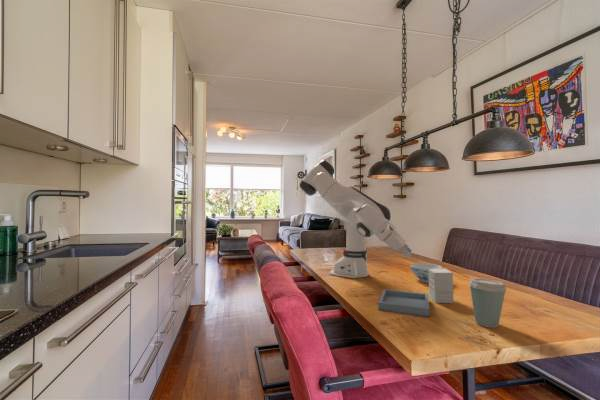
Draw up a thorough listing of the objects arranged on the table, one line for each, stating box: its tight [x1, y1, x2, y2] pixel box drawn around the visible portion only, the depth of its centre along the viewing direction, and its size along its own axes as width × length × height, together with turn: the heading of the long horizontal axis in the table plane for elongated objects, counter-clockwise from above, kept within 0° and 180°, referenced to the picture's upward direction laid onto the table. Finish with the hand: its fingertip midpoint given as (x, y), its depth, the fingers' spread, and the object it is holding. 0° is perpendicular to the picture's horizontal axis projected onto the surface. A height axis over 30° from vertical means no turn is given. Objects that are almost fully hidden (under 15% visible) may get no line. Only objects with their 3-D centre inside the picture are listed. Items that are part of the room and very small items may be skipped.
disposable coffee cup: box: [468, 277, 507, 329], centre depth 95 cm, size 11×11×15 cm
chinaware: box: [410, 262, 443, 283], centre depth 148 cm, size 15×15×8 cm
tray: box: [378, 288, 431, 318], centre depth 113 cm, size 18×18×3 cm
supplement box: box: [428, 268, 454, 304], centre depth 119 cm, size 7×7×13 cm
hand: (410, 254), depth 123 cm, fingers open, 8 cm apart
